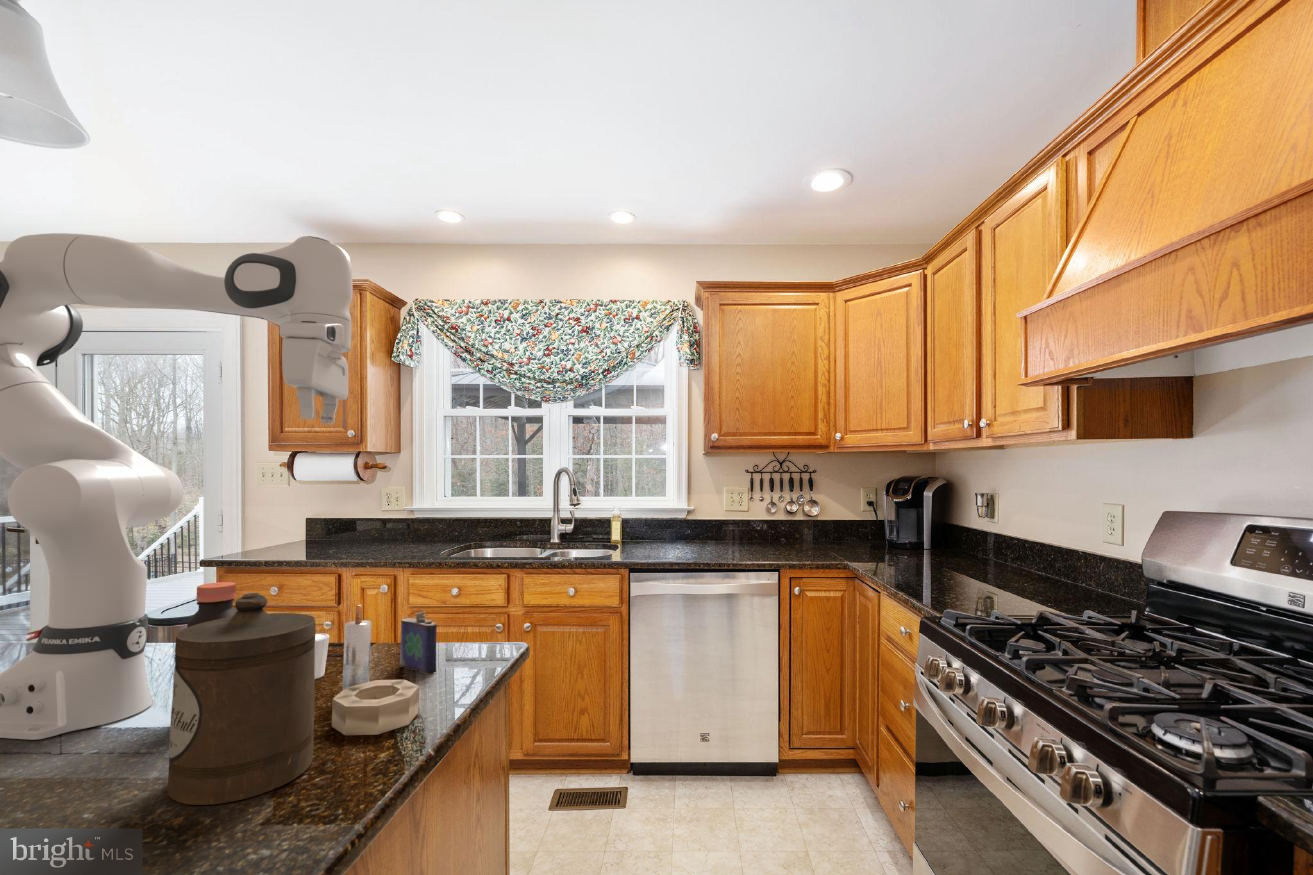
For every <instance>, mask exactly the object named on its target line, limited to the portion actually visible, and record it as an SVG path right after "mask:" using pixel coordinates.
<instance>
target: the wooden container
mask: <svg viewBox="0 0 1313 875" xmlns="http://www.w3.org/2000/svg"><path fill="white" fill-rule="evenodd" d="M267 604H268V598H267V597H266V596H264V595H263V594H262V595H261V594H260V593H259V592H250V593H245V594H243V595H242V596H241V597H238V598H236V599H235V609H236V610H237V612H236V613H235V614H234V616H233V617H230V618H224V619H218V620H213V621H208V622H204V623H200V624H196V625H193V626H190V627H187V626H186V627H185V628H183V629H181V630H180V631H178V632H177V634H176V635H175V646H174V663H175V664H174V674H173V685H172V686H173V687H172V704H171V711H170V712H171V713H170V724H169V725H170V727H169V750H168V775H167V776H168V777H167V778H168V780H167V781H168V782H167V793H168V796H169V797H170V799H172V800H173V801H175V802H178V803H180V804H184V805H190V806H191V805H192V806H193V805H194V806H210V805H218V804H220V805H222V804H226V803H232V802H237V801H242V800H246V799H250V798H253V797H256V796H260V795H263V794H266V793H268V792H270V791H273V790H275V789H276V790H277V789H278V788H280V787H282V786H284V785H287V784H288V783H290V782H292V781H294V780H295V779H297V778H298V777H300V776H301V775H302V774H304V773H305V771H307V770H308V769H309V768H310V766H311V764H312V762H313V759H314V756H313V755H314V730H315V703H316V702H315V701H316V699H315V698H316V692H315V691H316V690H315V684H316V682H315V680H316V679H315V635H316V633H317V632H316V630H317V629H316V618H315V617H314V616H312V615H309V614H304V613H294V612H293V613H292V612H291V613H290V612H289V613H287V612H285V613H283V612H277V613H275V612H271V613H268V612H267V611H266V610H265V609H264V608H265V607H266V606H267Z"/></svg>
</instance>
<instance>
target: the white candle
mask: <svg viewBox="0 0 1313 875" xmlns="http://www.w3.org/2000/svg"><path fill="white" fill-rule="evenodd" d="M354 611H355V612H354V614H355V615H354V621H353V620H352V621H349V622H345V624H344V637H343V638H344V639H343V668H342V688H341V689H342V691H343V690H344V689H345V688H347V687H351V686H355V685H359V684H363V683H367V682H370V674H371V673H370V671H371V646H372V645H371V641H372V621H370V620H365V619H364V620H363V617H362V615H363V604H356V605H355V610H354ZM342 691H341V692H342Z"/></svg>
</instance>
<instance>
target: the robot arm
mask: <svg viewBox="0 0 1313 875" xmlns="http://www.w3.org/2000/svg"><path fill="white" fill-rule="evenodd" d="M353 286H354V285H353V269H352V262H351V258H350V256H349V254H348V253H347V251H345V250H344V249H343V248H342V247H341V246H340V245H338V244H336V243H335V242H333V241H329V240H328V239H324V238H321V237H316V236H312V235H311V236H309V235H308V236H305V235H304V236H300V237H298V238H297V239H295V240H294V241H293V242H291V244H289V245H287V246H284V247H282V248H277V249H275V250H270V251H266V252H265V251H264V252H259V253H258V252H257V253H255V252H251V253H246V254H243V255H240V256H238V257H236V258H235V259H234V260H233V261H232V262H231V263H230V264H229V265H228V267H227V269H226V270H225V274H224V277H223V276H216V275H211V274H209V273H204V272H201V271H198V270H195V269H193V268H190V267H188V266H187V265H184V264H182V263H179V262H177V261H175V260H173V259H170V258H168V257H166V256H164V255H163V254H160V253H159V252H156V251H154V250H151V249H150V248H149V247H148V248H147V247H146V246H145V247H144V246H142V245H140V244H136V243H133V242H129V241H126V240H122V239H119V238H116V237H115V238H114V237H110V236H104V235H96V234H94V235H93V234H85V233H83V234H82V233H67V232H65V233H63V232H61V233H59V232H58V233H57V232H56V233H53V232H52V233H38V234H28V235H24V236H20V237H18V238H16V239H13V241H12V242H10V244H8V246H7V247H6V250H5V251H4V254H3V258H2V260H1V262H0V456H1V457H3V459H4V460H5V461H7V462H8V463H9V464H11V465H12V466H15V467H16V468H18V469H20V470H24V471H23V472H22V473H20V474H19V475H18V476H17V477H16V478H15V480H14V481H13V482H12V484H11V485H10V487H9V490H8V495H7V506H8V507H7V508H8V509H9V510H8V511H9V513H10V516H12V517H13V520H15V521H16V522H17V524H19V525H21V526H22V527H24V528H25V529H26V530H27V531H29V532H30V533H31V534H32V535H33V536H34V538H35V539H36V541H37V542H38V545H39V546H40V549H41V550H42V554H43V555H44V558H45V561H46V565H47V567H48V568H47V569H48V574H49V596H48V598H49V602H48V622H47V625H45V626H44V627H41V629H38V630H34V631H31V632H28V633H26V635H27V636H28V635H31V636H29V637H28V638H26V639H25V641H27V642H29V641H33V640H36V639H37V640H36V642H35V644H34V646H33V647H32V648H33V649H32V651H31V652H30V653H29V654H27V655H26V656H24V657H23V658H21V659H19V661H17V662H15V663H14V664H12V665H11V666H10V667H8V668H7V669H5V670H3V671H2V672H1V673H0V738H1V739H13V740H14V739H18V740H36V741H37V740H43V739H46V738H51V737H54V736H58V735H62V734H65V733H69V732H73V731H78V730H82V729H88V728H93V727H99V726H101V725H105V724H106V725H107V724H109V723H113V722H117V721H120V720H123V719H125V718H129V717H131V716H133V715H137V714H138V713H141V712H142V711H144V710H147V708H150V707H151V706H152V704H154V699H153V696H152V693H151V690H150V687H149V681H148V677H147V676H148V675H147V669H146V668H147V667H146V658H145V649H146V644H147V640H148V630H149V628H148V627H149V626H148V625H149V616H148V614H147V613H145V612H146V599H147V597H146V595H147V580H148V579H147V577H148V568H147V566H146V564H145V562H144V561H143V560H142V559H140V558H138V556H136V555H135V554H134V552H133V550H132V547H131V545H130V542H129V538H128V535H127V534H128V533H127V528H135V527H136V528H137V527H143V526H145V525H146V526H147V525H149V524H151V523H154V522H157V521H159V520H161V519H163V518H166V517H168V516H170V515H171V514H172V513H173V512H175V511H176V510H177V508H178V507H179V506H180V504H181V502H182V499H183V493H184V490H183V489H184V488H183V484H182V481H181V479H180V478H179V477H178V475H177V474H176V473H175V472H173V471H172V470H171V469H168V468H166V467H165V466H162V465H160V464H158V463H155V462H153V461H152V460H150V459H148V458H146V457H145V456H143V455H141V454H140V453H139V452H137V451H136V450H134V449H133V448H131V447H130V446H128V445H127V444H126V443H124V442H122V441H121V440H119V439H118V438H116V437H114V436H113V435H111V434H110V433H108V432H107V431H106V430H104V429H102V428H101V427H100V426H99V425H97V424H95V423H94V422H93V421H92V420H90V419H89V418H88V417H87V416H86V415H85V414H84V413H83V411H81V410H79V408H78V407H76V406H75V404H74V403H72V402H71V401H70V400H69V399H68V398H67V397H66V396H65V395H64V394H63V393H62V392H61V391H60V390H59V389H58V388H57V387H56V386H55V385H54V384H53V383H52V382H50V381H49V379H48V378H46V376H44V374H43V373H41V371H40V370H39V368H38V367H43V366H48V365H51V364H54V363H56V361H58V359H59V358H60V356H62V355H63V354H65V353H67V352H68V351H70V349H72V348H73V346H75V345H76V344H77V343H78V341H79V339H80V337H81V335H82V333H83V329H84V323H83V321H84V320H83V318H82V316H81V314H80V312H79V311H78V310H77V309H76V308H75V307H74V306H73V305H83V306H94V307H101V308H102V307H104V308H120V309H123V308H125V309H159V310H160V309H162V310H163V309H164V310H186V311H200V312H207V313H209V312H210V313H217V314H225V315H233V316H239V317H249V318H256V319H261V320H265V321H268V322H270V323H272V324H274V325H276V326H277V327H278V328H279V336H280V337H281V338H282V339H283V340H282V345H281V362H282V364H281V368H282V376H283V380H284V382H285V384H286V385H287V386H290V387H292V388H295V389H296V398H297V401H298V405H299V417H300V418H301V419H304V420H315V419H316V416H317V415H316V412H317V408H316V407H315V398H314V397H320V398H322V404H323V405H322V406H323V408H322V412H321V413H320V423H322V424H323V425H334V424H335V421H336V419H335V418H336V413H337V409H338V407H339V401H346V400H347V399H348V396H349V365H348V360H347V359H346V357H344V356H343V353H347V352H351V350H352V348H351V347H352V317H351V312H350V307H351V304H352V301H353V296H354V295H353V292H354V291H353V290H354V287H353ZM46 361H47V362H46ZM33 634H34V635H33ZM32 635H33V636H32Z"/></svg>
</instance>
